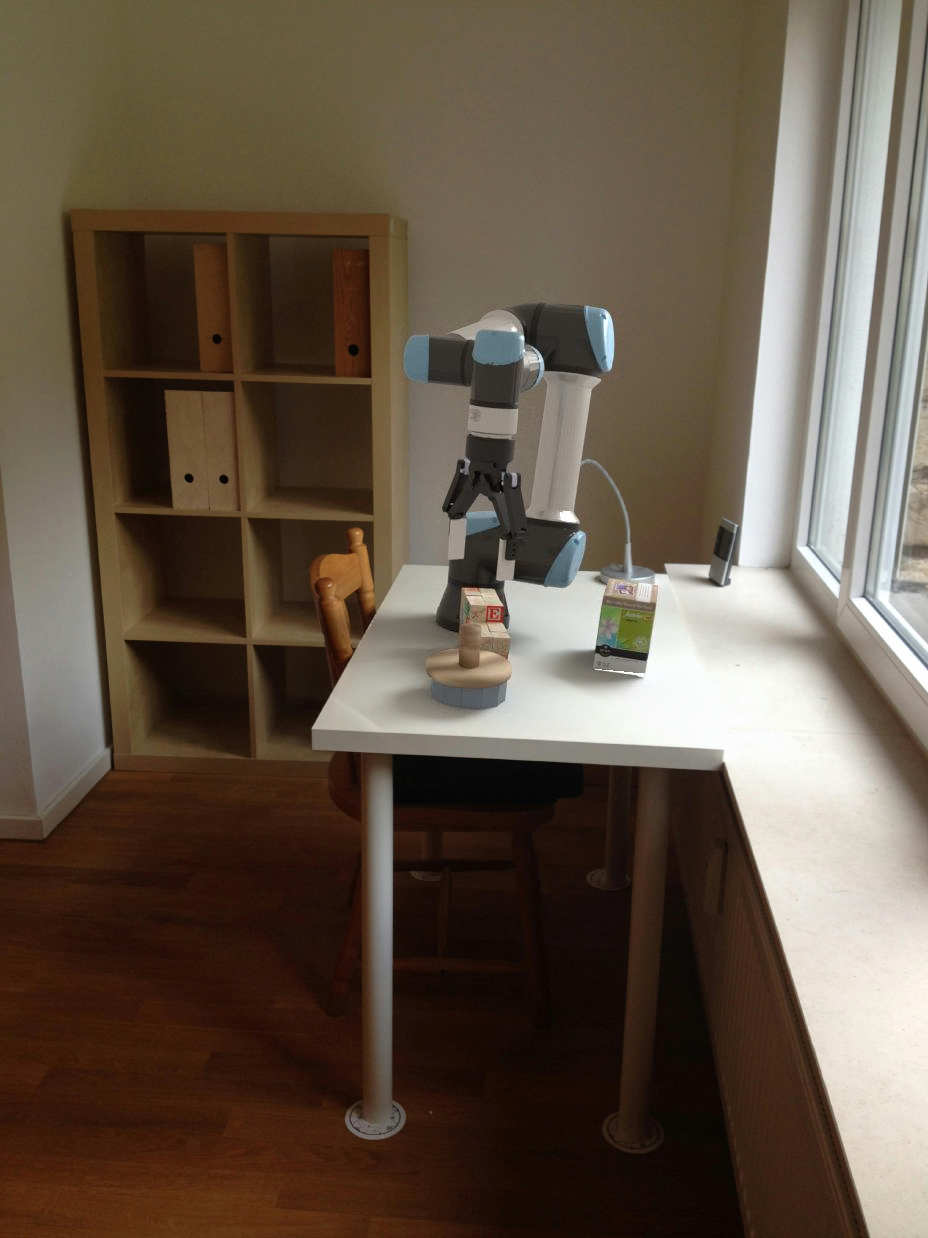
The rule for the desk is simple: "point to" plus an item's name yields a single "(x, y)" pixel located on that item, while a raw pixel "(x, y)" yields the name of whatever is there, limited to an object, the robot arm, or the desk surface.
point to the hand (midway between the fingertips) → (479, 569)
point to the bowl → (468, 696)
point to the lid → (468, 663)
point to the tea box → (625, 626)
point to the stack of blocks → (485, 619)
